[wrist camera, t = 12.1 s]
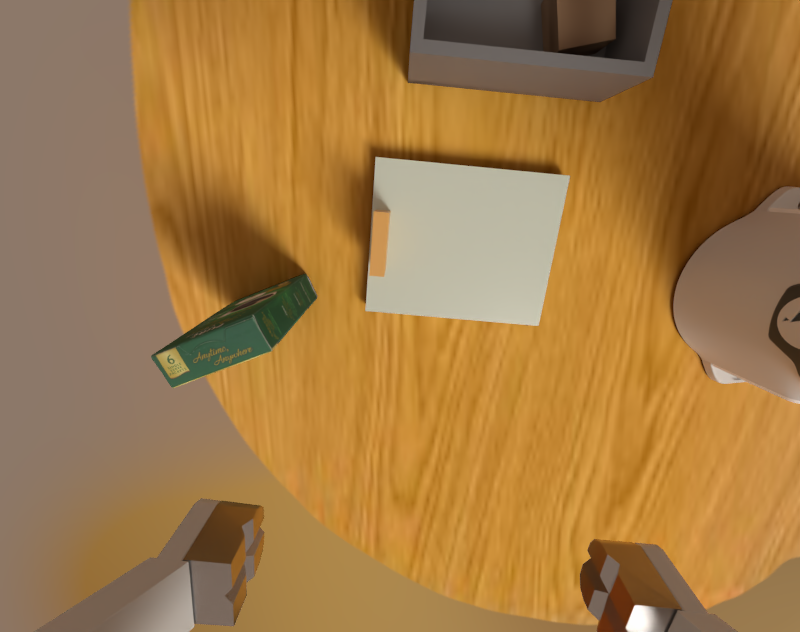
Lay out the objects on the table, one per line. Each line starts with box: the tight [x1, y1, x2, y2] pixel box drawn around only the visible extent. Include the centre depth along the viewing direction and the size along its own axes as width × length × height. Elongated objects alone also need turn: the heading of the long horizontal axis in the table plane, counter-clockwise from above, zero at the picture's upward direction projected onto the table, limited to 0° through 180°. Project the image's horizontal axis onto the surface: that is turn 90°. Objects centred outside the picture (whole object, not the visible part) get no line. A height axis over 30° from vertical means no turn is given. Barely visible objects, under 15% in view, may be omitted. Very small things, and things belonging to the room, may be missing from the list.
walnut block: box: [541, 0, 616, 56], centre depth 28 cm, size 4×4×3 cm
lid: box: [365, 157, 570, 326], centre depth 33 cm, size 16×13×6 cm
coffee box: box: [151, 274, 317, 388], centre depth 31 cm, size 8×3×13 cm, turn 111°
